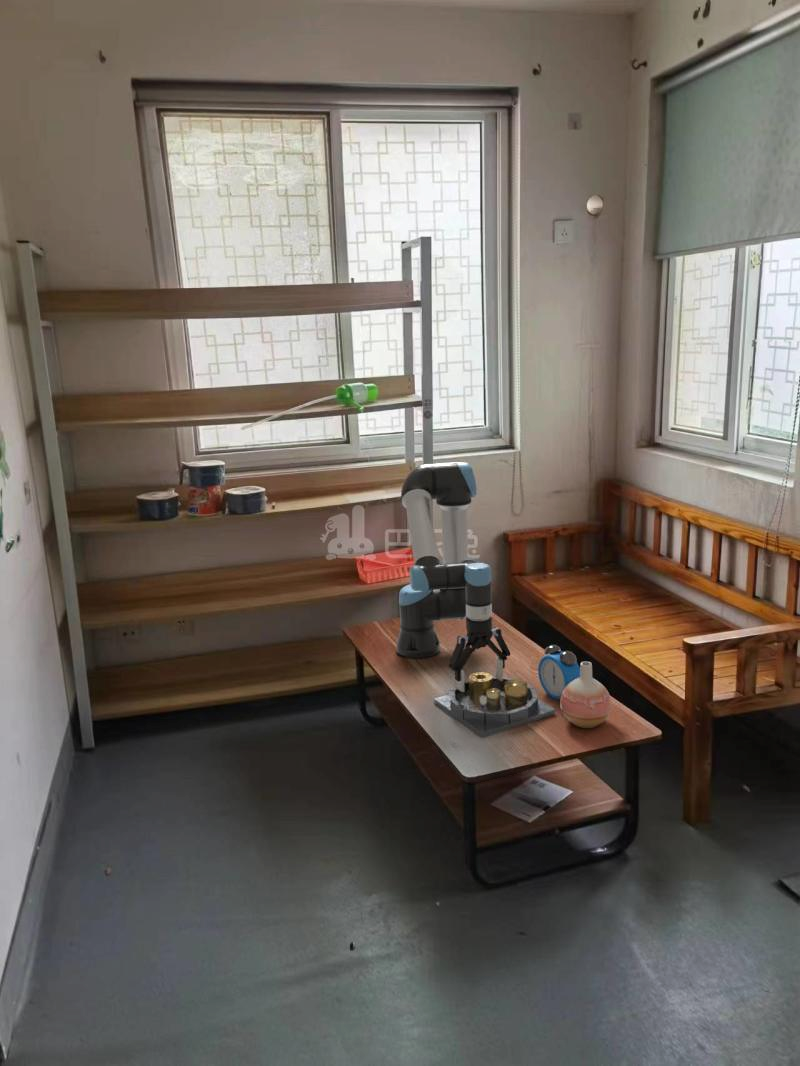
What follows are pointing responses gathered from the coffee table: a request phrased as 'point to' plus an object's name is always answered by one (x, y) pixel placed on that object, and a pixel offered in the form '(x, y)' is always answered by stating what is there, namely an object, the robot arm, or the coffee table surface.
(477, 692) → the octagonal brass tube
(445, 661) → the coffee table surface
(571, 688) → the vase
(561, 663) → the alarm clock
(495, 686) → the carrier
